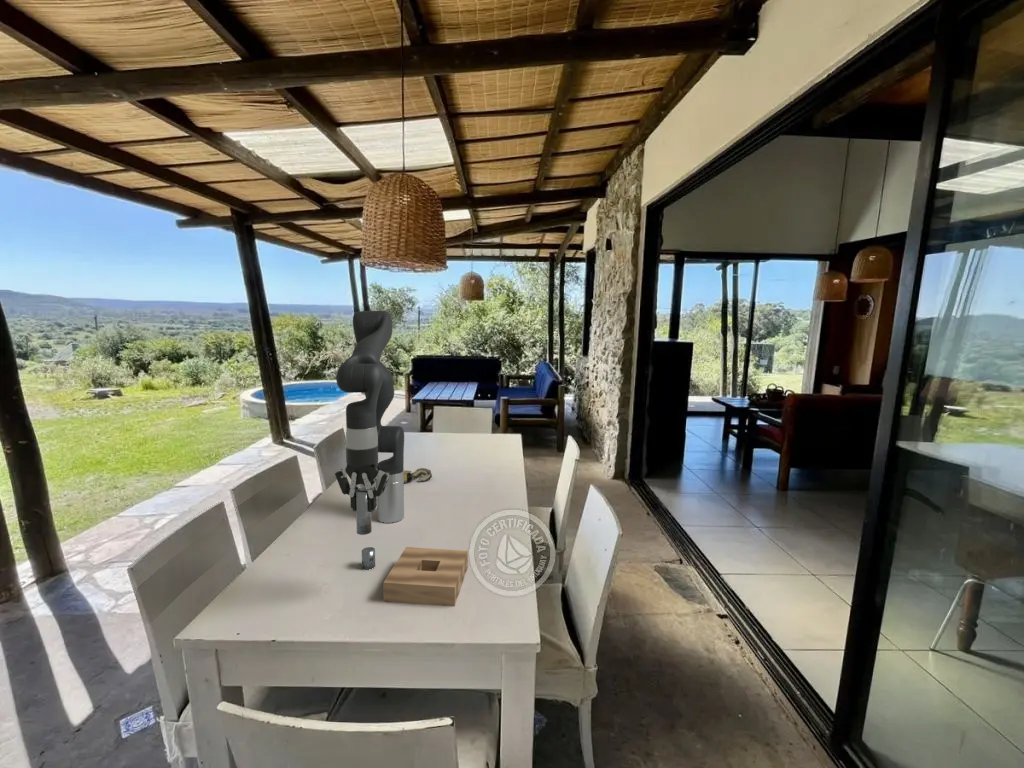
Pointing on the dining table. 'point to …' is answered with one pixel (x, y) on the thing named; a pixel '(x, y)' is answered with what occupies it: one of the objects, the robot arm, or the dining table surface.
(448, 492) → the dining table surface
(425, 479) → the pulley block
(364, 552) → the short pin
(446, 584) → the block
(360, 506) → the long pin
